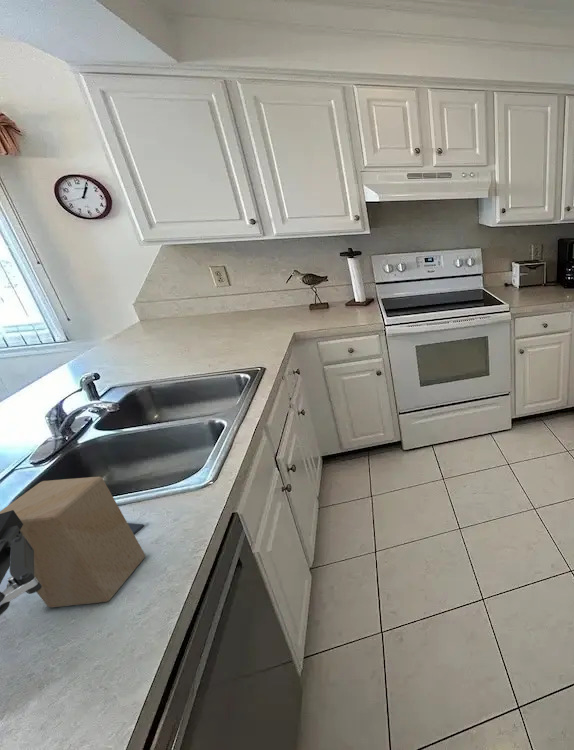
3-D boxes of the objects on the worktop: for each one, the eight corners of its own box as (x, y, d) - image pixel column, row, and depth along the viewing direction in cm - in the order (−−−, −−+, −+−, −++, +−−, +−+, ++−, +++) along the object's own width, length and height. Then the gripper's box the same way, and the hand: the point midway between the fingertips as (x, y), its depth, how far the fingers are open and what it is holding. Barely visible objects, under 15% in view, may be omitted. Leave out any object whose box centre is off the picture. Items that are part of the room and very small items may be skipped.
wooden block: (147, 555, 81) (102, 475, 72) (109, 602, 72) (52, 516, 63) (93, 561, 80) (41, 480, 71) (47, 609, 71) (-19, 523, 62)
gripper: (-159, 734, 38) (-42, 560, 56) (35, 653, 45) (84, 519, 63) (-222, 688, 35) (-77, 519, 53) (-3, 607, 41) (60, 480, 59)
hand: (10, 519), depth 58 cm, fingers closed
